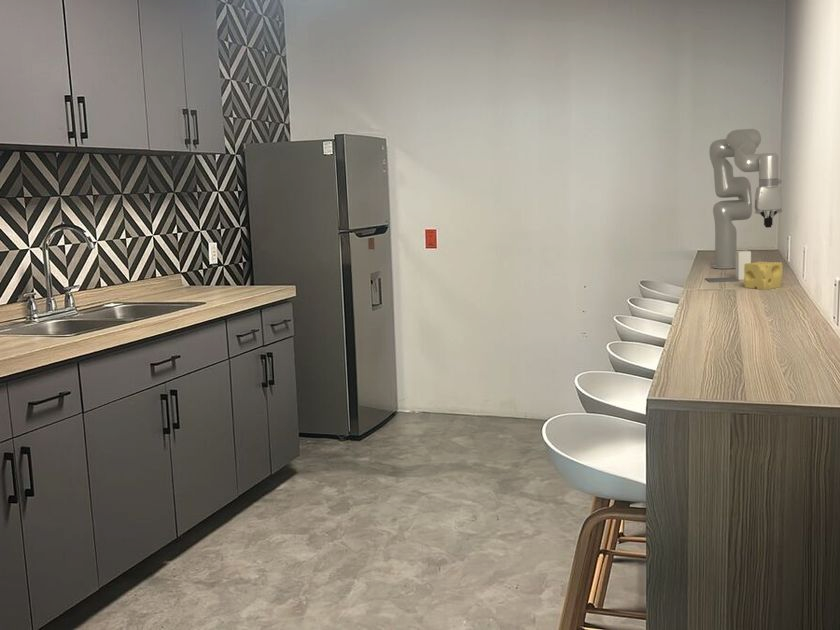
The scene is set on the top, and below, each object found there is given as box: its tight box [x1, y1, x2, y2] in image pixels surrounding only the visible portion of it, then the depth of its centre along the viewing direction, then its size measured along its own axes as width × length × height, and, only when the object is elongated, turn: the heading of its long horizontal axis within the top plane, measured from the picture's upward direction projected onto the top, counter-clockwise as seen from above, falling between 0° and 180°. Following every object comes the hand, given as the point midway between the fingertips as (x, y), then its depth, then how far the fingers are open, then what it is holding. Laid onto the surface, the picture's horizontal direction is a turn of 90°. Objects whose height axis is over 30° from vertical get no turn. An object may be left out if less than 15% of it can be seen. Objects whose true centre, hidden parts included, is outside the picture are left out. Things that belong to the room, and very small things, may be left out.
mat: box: [704, 276, 740, 283], centre depth 364 cm, size 10×12×1 cm
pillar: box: [734, 250, 752, 281], centre depth 362 cm, size 5×5×12 cm
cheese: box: [743, 261, 784, 291], centre depth 338 cm, size 10×11×10 cm
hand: (768, 227), depth 358 cm, fingers closed
